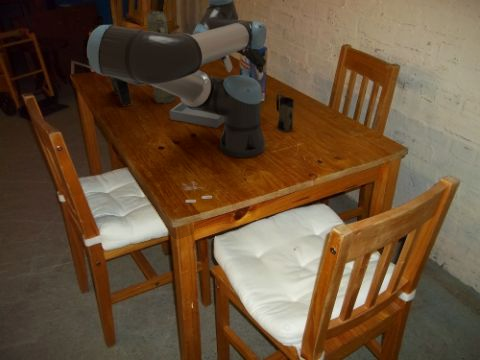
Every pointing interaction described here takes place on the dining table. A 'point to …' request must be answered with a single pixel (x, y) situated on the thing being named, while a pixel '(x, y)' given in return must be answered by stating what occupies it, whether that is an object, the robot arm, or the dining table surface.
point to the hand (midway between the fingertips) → (245, 73)
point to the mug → (285, 113)
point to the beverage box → (249, 70)
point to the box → (195, 116)
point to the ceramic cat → (121, 90)
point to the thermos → (159, 24)
